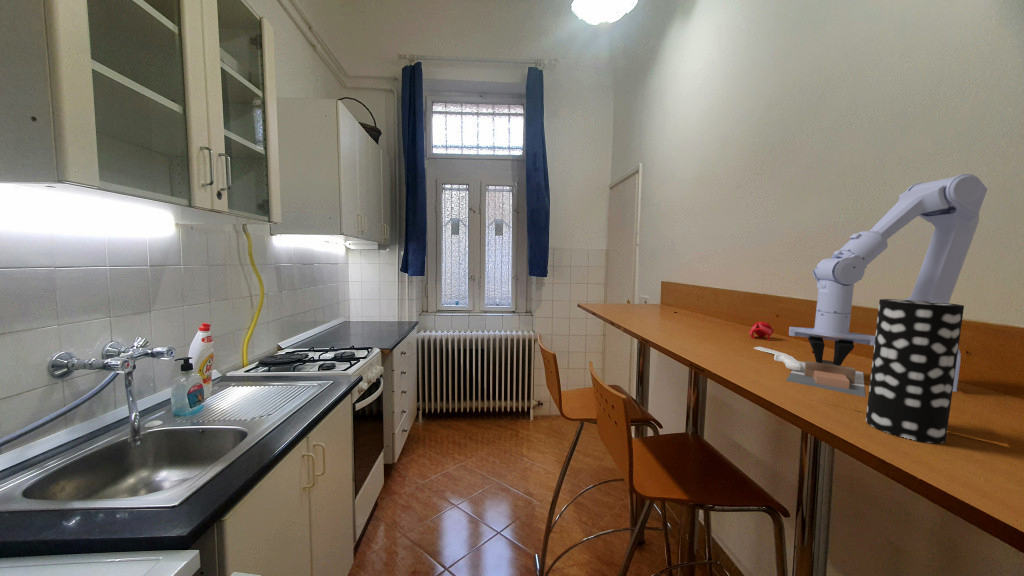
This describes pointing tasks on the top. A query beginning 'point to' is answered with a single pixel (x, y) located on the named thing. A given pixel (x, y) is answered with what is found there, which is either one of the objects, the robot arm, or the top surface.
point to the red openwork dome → (761, 330)
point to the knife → (783, 358)
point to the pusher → (829, 369)
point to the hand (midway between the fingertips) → (826, 371)
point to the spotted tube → (914, 368)
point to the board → (853, 389)
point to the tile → (831, 379)
